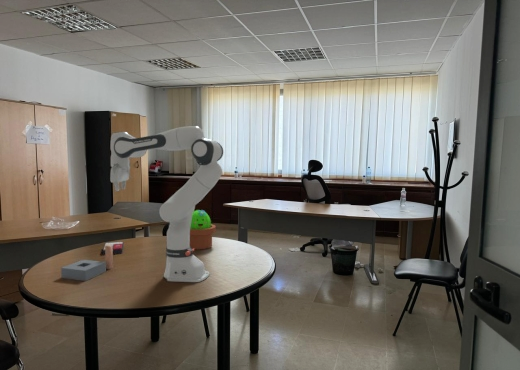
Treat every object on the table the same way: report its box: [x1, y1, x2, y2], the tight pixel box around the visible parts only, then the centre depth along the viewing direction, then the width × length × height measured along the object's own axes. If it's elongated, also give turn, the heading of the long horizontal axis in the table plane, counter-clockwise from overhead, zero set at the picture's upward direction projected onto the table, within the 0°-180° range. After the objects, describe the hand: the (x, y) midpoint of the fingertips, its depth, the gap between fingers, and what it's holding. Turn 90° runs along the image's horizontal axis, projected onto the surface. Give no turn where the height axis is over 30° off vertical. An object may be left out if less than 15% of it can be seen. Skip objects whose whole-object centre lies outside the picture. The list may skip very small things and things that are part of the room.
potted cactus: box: [190, 209, 216, 250], centre depth 226 cm, size 22×22×25 cm
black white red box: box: [102, 241, 124, 256], centre depth 213 cm, size 11×4×15 cm
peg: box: [104, 245, 114, 270], centre depth 180 cm, size 4×4×12 cm
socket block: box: [60, 259, 107, 282], centre depth 170 cm, size 14×14×5 cm
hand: (120, 190), depth 176 cm, fingers open, 8 cm apart
